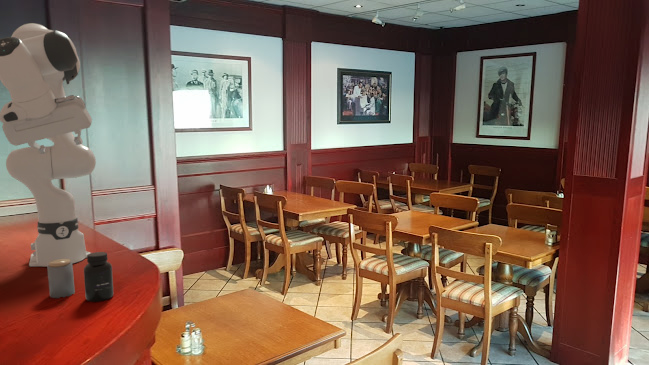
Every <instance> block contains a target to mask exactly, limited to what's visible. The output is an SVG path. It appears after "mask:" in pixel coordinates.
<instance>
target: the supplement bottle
mask: <svg viewBox="0 0 649 365" xmlns="http://www.w3.org/2000/svg"><path fill="white" fill-rule="evenodd" d="M86 262H87V264H86V265H85V266H84V268H83V277H84V279H83V280H84V292H85V294H84V295H85V299H86V300H87V301H89V302H93V303H95V302H97V303H98V302H104V301H107V300H109V299H111V298H112V297H113V296H114V279H113V265H112V264H111V262H109V261H108V253H107V252H105V251H97V252H90V254H88V255H87V257H86Z"/></svg>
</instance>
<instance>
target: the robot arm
mask: <svg viewBox="0 0 649 365" xmlns="http://www.w3.org/2000/svg"><path fill="white" fill-rule="evenodd" d="M80 68H81V61H80V58H79V56H78V53H77V48H76V45H75V44H74V42H73V40H71V38H70V37H68V35H67V34H66V33H64V32H62V31H59V30H57V29H56V30H52V29H48V28H47V27H45V26H44V25H42V24H40V23H33V22H31V23H24V24H23V25H20V26H18V28H16V29H15V30H14V31H13V33H12V35H11V36H7V37H2V38H0V82H1V84H2V85H3V86H4V88H6V89H7V90H8V92H9V95H10V99H11V100H10V101H9V102H7V103H5V104H4V105H3V106H2V108H1V109H0V122H1V123H2V131H3V133H4V135H5V138H6V139H7V141H8V142H9V144H11V145H12V146H15V147H17V146H21V145H25V144H27V145H28V146H27V147H21V148H17V149H13V150H11V151H10V153H8V156H7V158H6V162H5V166H6V170H7V172H8V174H9V175H10V176H11V177H12V178H13V179H15V180H16V181H19V182H20V183H21V184H23V185H24V186H25V187H27V189H28V190H29V191H30V192H31V194H32V196H33V198H34V201H35V205H36V210H37V217H38V218H37V219H38V221H37V225H36V226H37V227H36V228H37V233H38V235H37V236H36V238H35V240H34V242H31V244H30V250H31V251H33V252H32V253H31V254H30V258H29V259H30V260H29V264H28V267H47V266H48V265H49V262H51V261H54V260H58V259H70V261H71V262H72V264H75V263H79V262H81V261H83V260H84V259H87V255H88V254H90V253H91V252H90V251H87V249H86V248H87V247H86V242H85V236H84V233H83V232H81V231H80V230H79V219H78V217H77V214H76V203H75V202H76V200H75V196H73V194H72V193H71V192H70V191H67V190H65V189H62V188H60V187H56V186H55V185H54V184H53V183H52V181H53V180H62V179H64V180H65V179H76V178H77V179H78V178H80V177H84V176H88V175H89V176H90V175H91V174H92V173H93V171H94V170H95V167H96V163H97V161H96V156H95V154H94V151H92V150H91V149H90V147H88V146H86V145H84V143H83V139H82V137H81V135H82V130H84V129H89V128H90V127H91V126H92V121H93V118H92V117H91V114H90V113H89V111H88V110H87V108H86V104H85V102H84V100H83V98H82V97H80V96H79V95H78V96H77V95H74V94H71V95H67V96H66V92H65V88H64V85H63V82H64V81H66V85H69V84H70V82H71V81H72V80H73V81H74V79H75V78H76V77H77V76H78V75H79V72H80ZM73 132H74V133H73ZM74 134H75V135H77V136H75V135H74ZM45 139H47V140H49V141H51V142H52V143H53V145H51V146H47V145H46V146H45V145H44V144H41V145H40V144H39V143H37V142H38V141H41V140H45Z"/></svg>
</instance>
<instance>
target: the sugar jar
mask: <svg viewBox="0 0 649 365" xmlns="http://www.w3.org/2000/svg"><path fill="white" fill-rule="evenodd" d="M46 269H47V278H48V289H49V298H52V299H61V298H60V297H63V298H67V297H70V296H72V294H73V295H74V294H75V293H76V290H75V279H74V266H73V263H72V262H71V261H70V259H58V260H54V261H51V262H49V265H48V266H47V268H46ZM66 296H67V297H66Z"/></svg>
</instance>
